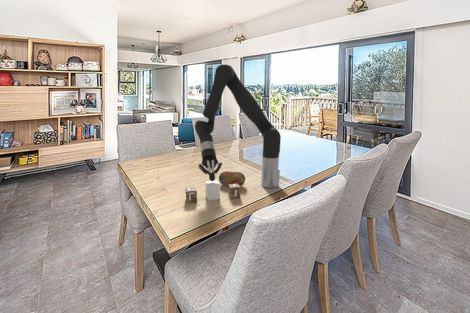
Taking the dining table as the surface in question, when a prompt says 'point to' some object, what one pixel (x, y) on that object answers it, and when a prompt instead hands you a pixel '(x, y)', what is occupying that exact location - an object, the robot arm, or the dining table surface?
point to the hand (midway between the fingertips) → (212, 180)
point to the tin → (231, 178)
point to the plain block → (212, 190)
